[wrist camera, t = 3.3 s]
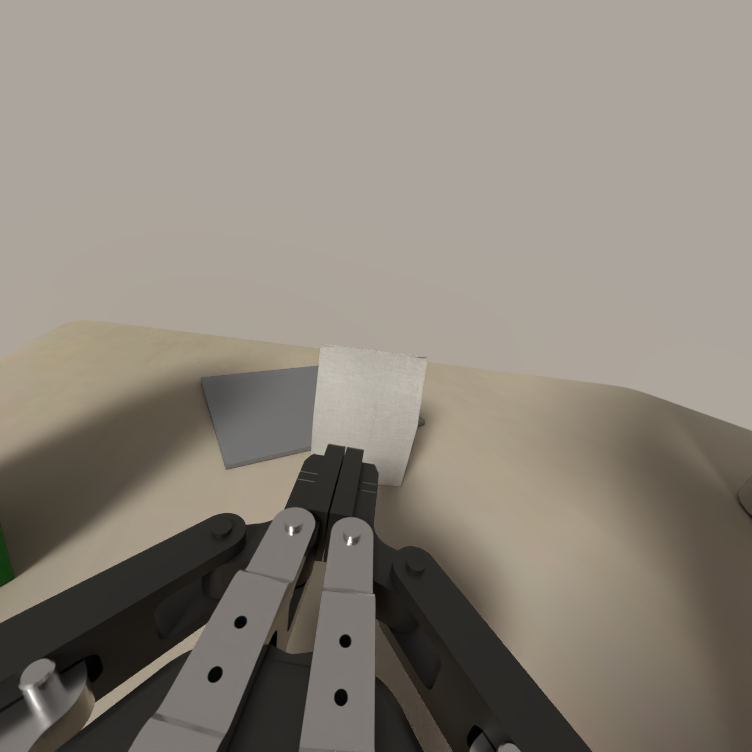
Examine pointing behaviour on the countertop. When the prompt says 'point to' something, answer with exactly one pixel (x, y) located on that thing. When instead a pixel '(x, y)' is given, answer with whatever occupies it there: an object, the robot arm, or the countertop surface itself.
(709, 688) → the countertop surface
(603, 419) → the countertop surface
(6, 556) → the milk carton
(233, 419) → the mat
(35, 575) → the countertop surface
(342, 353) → the tea packet
